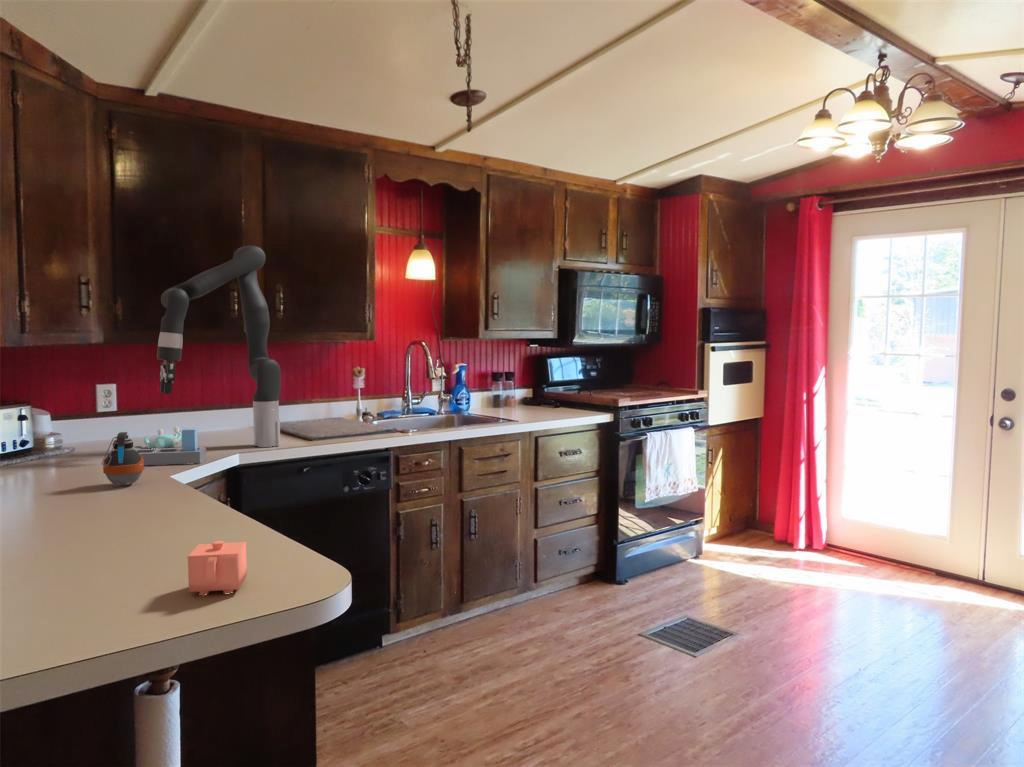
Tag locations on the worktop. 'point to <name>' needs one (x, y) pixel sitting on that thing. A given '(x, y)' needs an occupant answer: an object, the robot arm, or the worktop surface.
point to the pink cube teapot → (217, 567)
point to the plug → (189, 439)
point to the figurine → (164, 439)
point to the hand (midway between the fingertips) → (165, 393)
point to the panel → (172, 456)
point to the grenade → (123, 462)
